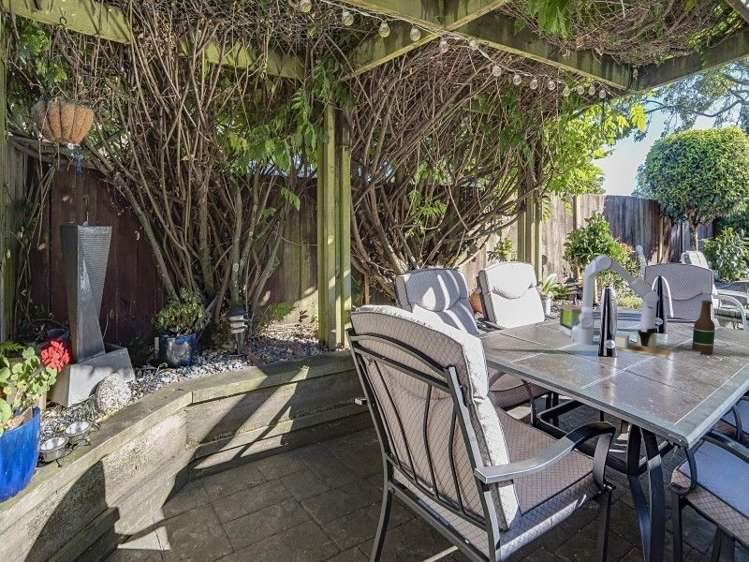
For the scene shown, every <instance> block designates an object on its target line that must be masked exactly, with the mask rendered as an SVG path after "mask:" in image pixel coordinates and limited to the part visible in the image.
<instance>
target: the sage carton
mask: <svg viewBox="0 0 749 562" xmlns="http://www.w3.org/2000/svg"><path fill="white" fill-rule="evenodd" d="M635 344H636V346H640V347H645V346H642V345H641V339H640V336H639V334H638V332H637V333H636V343H635ZM656 347H657V333H656V334H655V333H654V334H651V336H650V338H649V342H648V345H647V348H653V349H655V348H656Z"/></svg>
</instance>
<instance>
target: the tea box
mask: <svg viewBox="0 0 749 562" xmlns="http://www.w3.org/2000/svg"><path fill="white" fill-rule="evenodd" d="M581 308H582V305H578V304H560V314H559V315H560V316H559V331H560V332H562V333H563V334H566V335H567V336H569V337H571V333H572V328H573V326H578V324H579V323H580V321H579V319H578V317H579V314H580V313H581Z"/></svg>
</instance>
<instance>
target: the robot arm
mask: <svg viewBox="0 0 749 562" xmlns="http://www.w3.org/2000/svg"><path fill="white" fill-rule="evenodd" d="M606 270H609V271H613V272H616V273H617V274H618V276H620V277H621V278H623V279H624V280H625V281H626V282H627V283H628V288H629V289H631V290H632V291H633V292H634V293H636V295H638V296H639V297H641V299H642V305H641V312H640V313H641V314H640V324H639V327H640V328H641V329H638V330H637V333H638V334H639V336H640V339H641V345H642V346H645V347H647V345H648V342H649V338H650V336H651V334H655V333H656V331H657V329H658V328H659V326H658V325H656V316H657V302H658V301H659V299H660V297H659V295H658V293H657V291H655V290H653V288H652V286H649V285H648V284H647V283H645V281H644V280H645V279H643V278H640V277H634V276H632V274H631V273H629V271H628V270H626V269H625V268H624V267H623V266H622V265H621V264H619V263H618V262H617V261H615V260H613V259H612V258H610V257H609V256H608V255H605V254H599V255H598V256H595V257H594V258H593V259H592V260H591V262H589V264H588V265H586V267H585V268H584V274H583V275H584V276H583V286H582V287H583V288H582V300H581V301H582V302H581V306H582V308H581V313H580V314H579V317H578V319H579V321H580V323H579V324H578V326H573V328H572V333H571V336H570V339H571V340H570V343H576V344H580V345H594V332H595V325H594V324H595V318H594V317H593V316H594V315H593V314H594V313H593V312H594V309H593V308H594V307H593V306H594V295H595V294H594V293H595V281H596V275H598V274H599V273H600V272H602V271H606Z"/></svg>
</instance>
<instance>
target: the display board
mask: <svg viewBox="0 0 749 562" xmlns="http://www.w3.org/2000/svg"><path fill="white" fill-rule="evenodd" d="M636 344H637V343H632V342H629V349H621V348H616V350H615V351H620V352H626V353H633V354H639V355H643V356H644V355H645V356H650V357H657V358H662V359H666V358H667V357H668V356H670V354H671V353H672V352H673V349H672V348H664V347H657V346H656V348H655V349H653V348H647V347H640V346H636Z"/></svg>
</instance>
